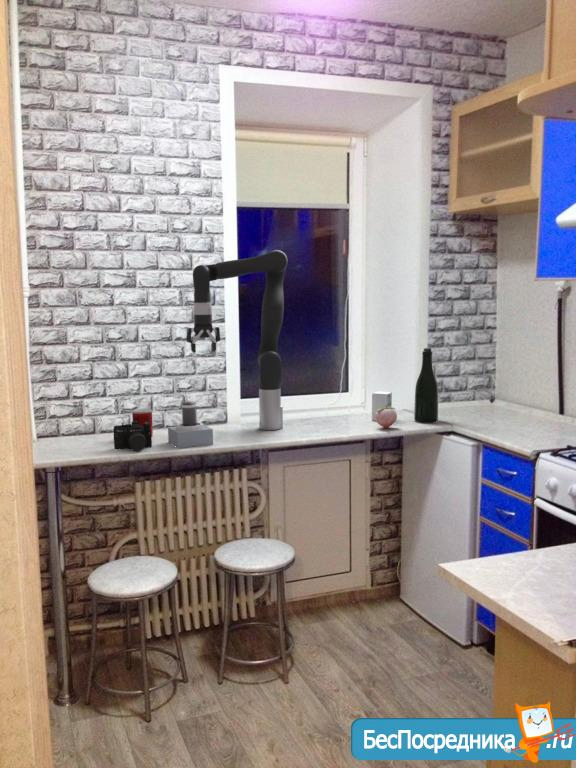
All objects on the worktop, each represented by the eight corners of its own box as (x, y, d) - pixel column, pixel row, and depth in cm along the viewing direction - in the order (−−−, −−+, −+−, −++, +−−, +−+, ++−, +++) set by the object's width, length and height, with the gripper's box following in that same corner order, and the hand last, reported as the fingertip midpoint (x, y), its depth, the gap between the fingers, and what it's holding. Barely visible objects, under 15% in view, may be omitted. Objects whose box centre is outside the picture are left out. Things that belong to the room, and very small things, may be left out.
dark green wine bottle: (413, 419, 309) (414, 347, 305) (436, 419, 308) (437, 347, 304) (415, 423, 298) (416, 349, 294) (439, 423, 297) (440, 349, 293)
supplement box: (387, 421, 303) (387, 394, 301) (371, 420, 306) (371, 393, 304) (391, 419, 310) (392, 391, 308) (376, 418, 313) (376, 391, 311)
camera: (115, 454, 245) (114, 427, 244) (113, 448, 255) (112, 422, 254) (154, 451, 249) (153, 424, 248) (151, 445, 259) (150, 419, 258)
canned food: (156, 435, 277) (155, 409, 275) (146, 439, 269) (145, 412, 268) (139, 434, 279) (138, 408, 278) (129, 438, 271) (128, 411, 270)
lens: (193, 426, 264) (193, 401, 263) (198, 428, 259) (197, 403, 258) (180, 427, 262) (179, 402, 261) (184, 430, 257) (184, 404, 256)
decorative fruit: (386, 425, 294) (386, 402, 293) (400, 428, 288) (400, 405, 286) (370, 428, 289) (370, 405, 288) (383, 431, 282) (384, 407, 281)
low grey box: (202, 438, 270) (201, 420, 269) (213, 444, 259) (212, 425, 258) (168, 442, 264) (167, 423, 263) (177, 448, 253) (177, 428, 252)
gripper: (189, 314, 277) (190, 353, 279) (222, 313, 283) (222, 352, 285) (183, 313, 283) (184, 352, 285) (215, 313, 290) (216, 350, 292)
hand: (203, 352), depth 285 cm, fingers open, 8 cm apart
